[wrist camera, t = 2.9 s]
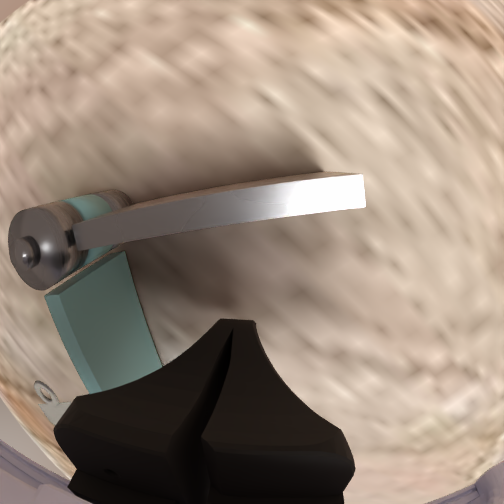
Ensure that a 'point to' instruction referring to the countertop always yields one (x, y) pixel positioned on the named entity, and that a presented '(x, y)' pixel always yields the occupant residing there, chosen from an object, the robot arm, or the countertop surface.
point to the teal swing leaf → (103, 315)
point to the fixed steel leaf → (165, 218)
